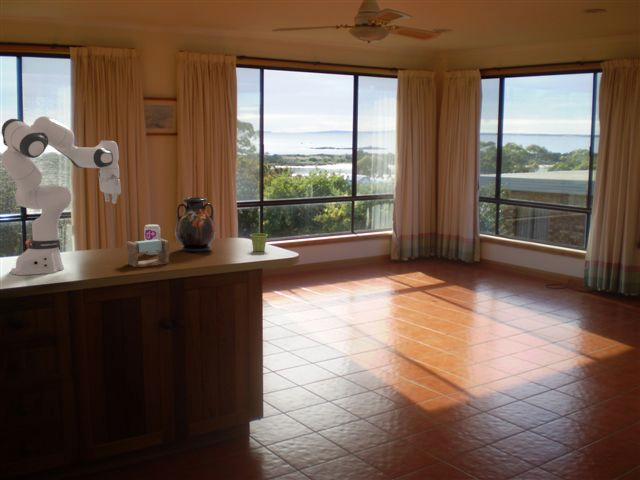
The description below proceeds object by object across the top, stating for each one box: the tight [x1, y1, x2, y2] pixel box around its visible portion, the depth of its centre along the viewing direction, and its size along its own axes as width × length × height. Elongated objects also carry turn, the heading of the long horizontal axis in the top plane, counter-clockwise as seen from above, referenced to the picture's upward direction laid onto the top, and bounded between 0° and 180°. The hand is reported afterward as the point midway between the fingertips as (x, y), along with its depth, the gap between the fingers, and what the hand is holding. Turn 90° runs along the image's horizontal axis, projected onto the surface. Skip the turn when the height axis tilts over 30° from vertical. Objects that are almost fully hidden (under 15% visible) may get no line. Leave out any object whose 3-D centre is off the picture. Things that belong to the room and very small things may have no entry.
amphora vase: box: [174, 196, 217, 254], centre depth 369 cm, size 22×22×28 cm
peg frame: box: [126, 238, 170, 268], centre depth 333 cm, size 17×9×11 cm, turn 126°
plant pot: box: [249, 233, 268, 252], centre depth 371 cm, size 9×9×9 cm
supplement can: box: [143, 223, 162, 256], centre depth 359 cm, size 8×8×15 cm
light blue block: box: [133, 239, 162, 253], centre depth 333 cm, size 5×12×4 cm, turn 132°
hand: (110, 202), depth 335 cm, fingers open, 8 cm apart
